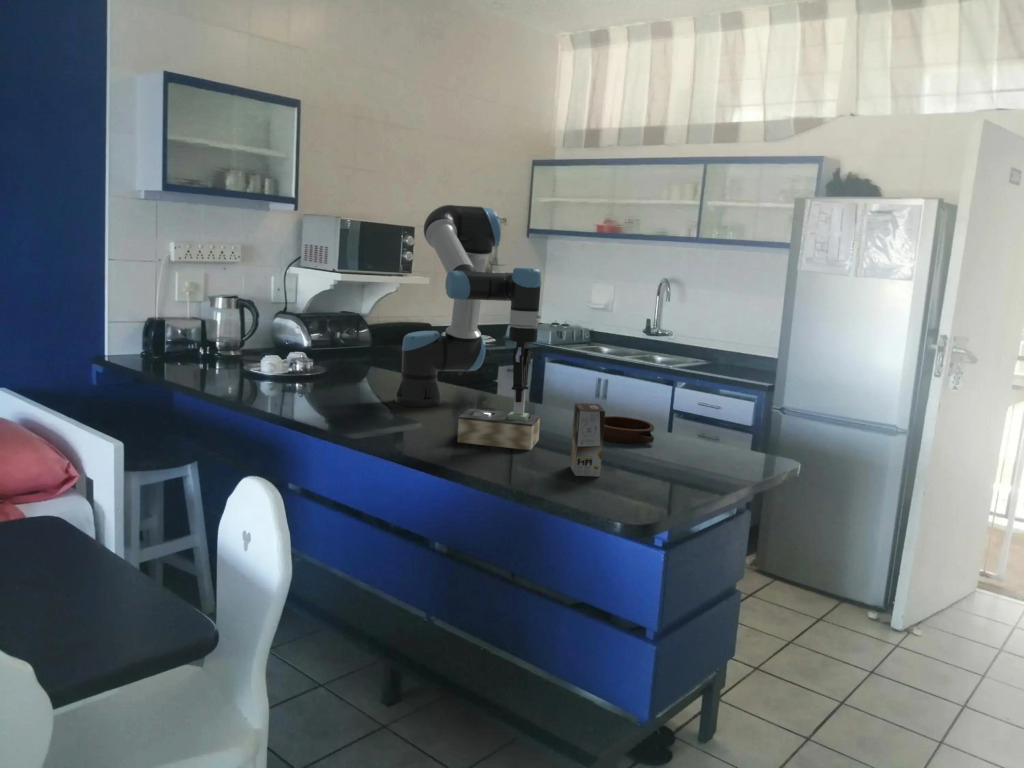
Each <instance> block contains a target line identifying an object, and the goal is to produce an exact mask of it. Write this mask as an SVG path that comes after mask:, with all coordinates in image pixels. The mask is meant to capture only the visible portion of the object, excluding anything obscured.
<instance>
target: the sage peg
mask: <svg viewBox="0 0 1024 768" xmlns="http://www.w3.org/2000/svg"><path fill="white" fill-rule="evenodd" d="M510 412H511V413H510V414H508V419H510V420H519V421H528V417H529V414H530V413H528V412H524V414H514V413H513V411H510Z"/></svg>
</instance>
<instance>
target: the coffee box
mask: <svg viewBox="0 0 1024 768" xmlns="http://www.w3.org/2000/svg"><path fill="white" fill-rule="evenodd" d="M573 404H574V406H573V419H572V420H573V421H572V422H573V423H572V436H571V450H570V465H569V466H570V469H571V471H572V472H573V475H574V476H575V477H597V478H599V477H600V476H601V470H602V457H603V456H602V455H603V444H604V439H603V434H604V421H605V416H606V411H605V410H604V408H603V407H602V406H601V405H600V404H598V403H577V402H576V403H573Z"/></svg>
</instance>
